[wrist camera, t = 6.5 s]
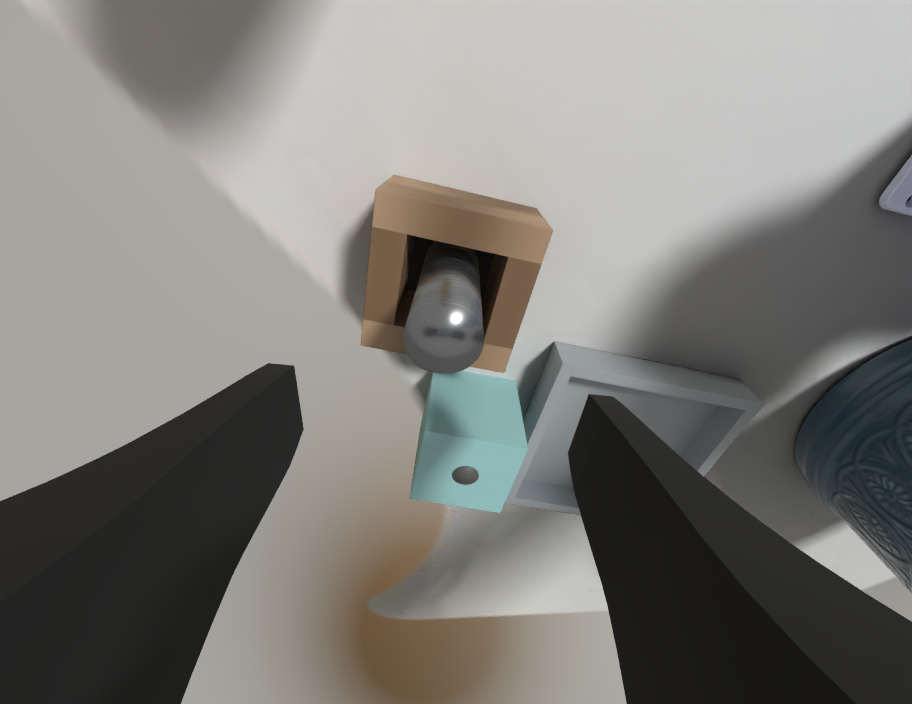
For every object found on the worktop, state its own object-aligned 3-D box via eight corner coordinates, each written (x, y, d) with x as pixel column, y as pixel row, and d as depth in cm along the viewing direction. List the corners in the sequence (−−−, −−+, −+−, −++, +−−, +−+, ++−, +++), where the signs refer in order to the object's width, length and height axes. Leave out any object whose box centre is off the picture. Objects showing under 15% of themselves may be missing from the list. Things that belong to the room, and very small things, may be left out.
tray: (739, 379, 20) (764, 403, 18) (648, 500, 25) (661, 528, 24) (554, 341, 19) (563, 363, 18) (499, 475, 25) (502, 502, 23)
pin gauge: (486, 248, 17) (497, 320, 11) (466, 295, 18) (466, 383, 12) (435, 228, 16) (417, 291, 11) (418, 277, 18) (393, 359, 12)
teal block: (515, 380, 21) (528, 449, 16) (494, 439, 23) (500, 513, 19) (434, 365, 20) (424, 431, 16) (420, 426, 23) (409, 499, 18)
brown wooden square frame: (536, 208, 16) (553, 230, 13) (498, 331, 19) (504, 373, 16) (393, 174, 15) (375, 189, 12) (378, 307, 18) (360, 345, 15)
